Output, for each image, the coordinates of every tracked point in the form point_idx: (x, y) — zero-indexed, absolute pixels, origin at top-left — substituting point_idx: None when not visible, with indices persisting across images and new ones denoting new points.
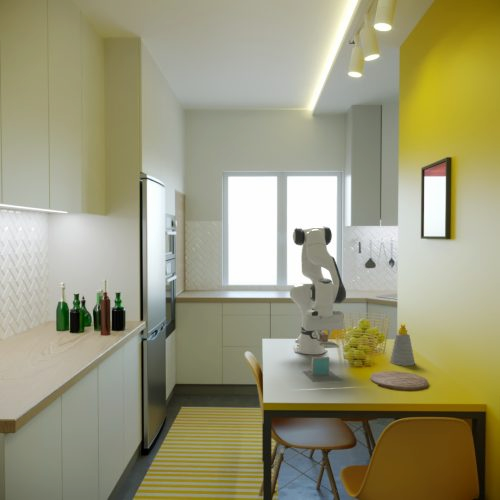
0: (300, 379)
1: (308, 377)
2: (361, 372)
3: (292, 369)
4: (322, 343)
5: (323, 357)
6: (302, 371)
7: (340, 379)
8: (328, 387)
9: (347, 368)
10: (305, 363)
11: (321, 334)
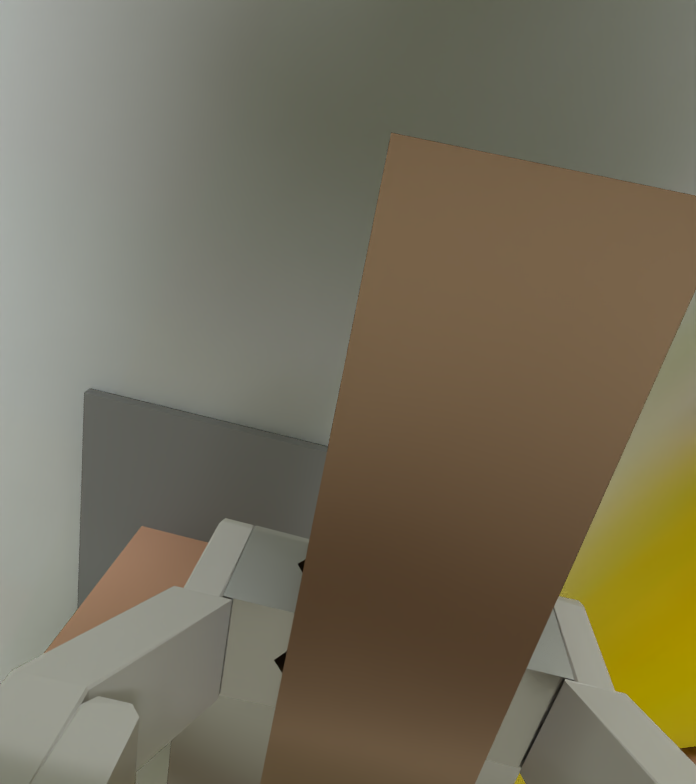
0: (8, 574)
1: (79, 585)
2: (689, 626)
3: (24, 251)
4: (193, 767)
5: None
6: (88, 411)
7: None
8: (147, 778)
9: (680, 457)
10: (306, 6)
11: (284, 715)
